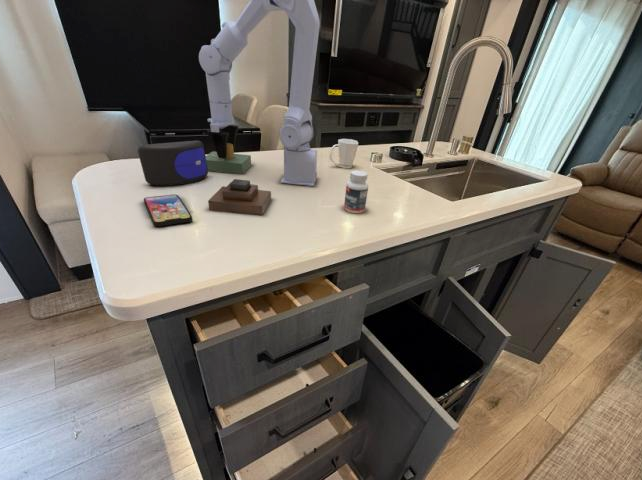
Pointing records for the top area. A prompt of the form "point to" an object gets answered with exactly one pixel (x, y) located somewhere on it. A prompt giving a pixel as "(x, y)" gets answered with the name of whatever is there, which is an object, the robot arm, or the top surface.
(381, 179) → the top surface
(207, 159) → the green flat block
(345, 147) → the cup
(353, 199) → the pill bottle
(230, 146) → the dimmer knob
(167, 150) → the leaning round-cornered charcoal block
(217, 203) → the switch plate
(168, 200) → the smartphone
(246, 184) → the switch button
